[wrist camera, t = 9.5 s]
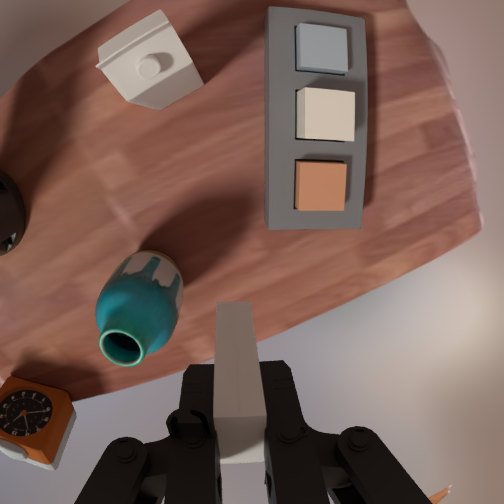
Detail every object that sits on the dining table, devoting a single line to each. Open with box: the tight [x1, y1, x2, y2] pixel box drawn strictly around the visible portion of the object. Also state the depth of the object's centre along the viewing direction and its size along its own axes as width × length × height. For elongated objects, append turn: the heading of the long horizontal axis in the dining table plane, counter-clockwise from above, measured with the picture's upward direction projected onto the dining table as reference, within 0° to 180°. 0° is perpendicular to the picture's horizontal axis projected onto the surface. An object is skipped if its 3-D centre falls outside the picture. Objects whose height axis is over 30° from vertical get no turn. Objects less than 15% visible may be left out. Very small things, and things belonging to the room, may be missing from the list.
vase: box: [95, 250, 183, 367], centre depth 39 cm, size 11×11×19 cm
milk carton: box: [96, 9, 204, 110], centre depth 29 cm, size 7×7×19 cm
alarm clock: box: [0, 376, 76, 471], centre depth 48 cm, size 18×9×21 cm, turn 84°
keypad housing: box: [264, 6, 368, 230], centre depth 39 cm, size 13×30×5 cm, turn 0°
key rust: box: [294, 159, 347, 211], centre depth 41 cm, size 6×6×6 cm
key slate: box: [294, 23, 348, 75], centre depth 34 cm, size 6×6×6 cm
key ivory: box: [295, 87, 355, 141], centre depth 36 cm, size 6×6×6 cm
